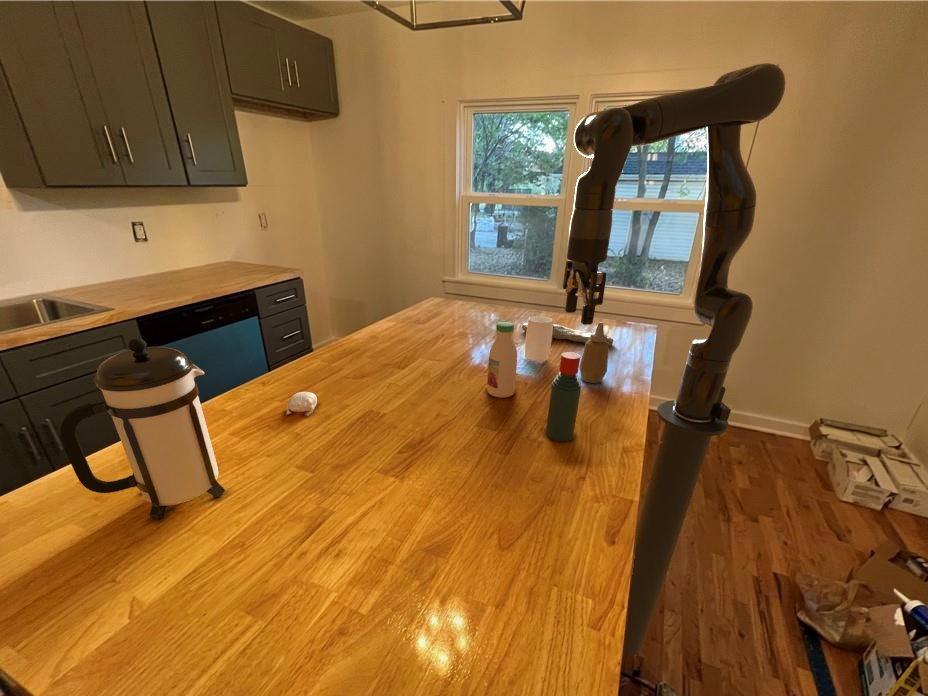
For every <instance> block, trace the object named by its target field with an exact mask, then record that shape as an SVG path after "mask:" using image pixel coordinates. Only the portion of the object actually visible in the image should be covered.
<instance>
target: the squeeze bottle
mask: <svg viewBox="0 0 928 696" xmlns="http://www.w3.org/2000/svg"><path fill="white" fill-rule="evenodd" d="M607 336H608V335H607V334H606V333H605V331H604V322H603V321H599V322H598V323H597V326H596V329H595V331H594V332H591V336H590V339H589V340H588V341H586V343H584V344H585V345H584V348H583V353H582V356H581V358H580V362H579V371H580V372H579V373H580V377H581V380H582V381H584V382H586V383H590V384H598V383H601V382H602V380H603V379H604V377H605V375H606V374H607V372H608V363H609V362H608V361H609V360H608V359H609V348H610V346H609V344H608V343H607V342H606V340H607Z"/></svg>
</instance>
